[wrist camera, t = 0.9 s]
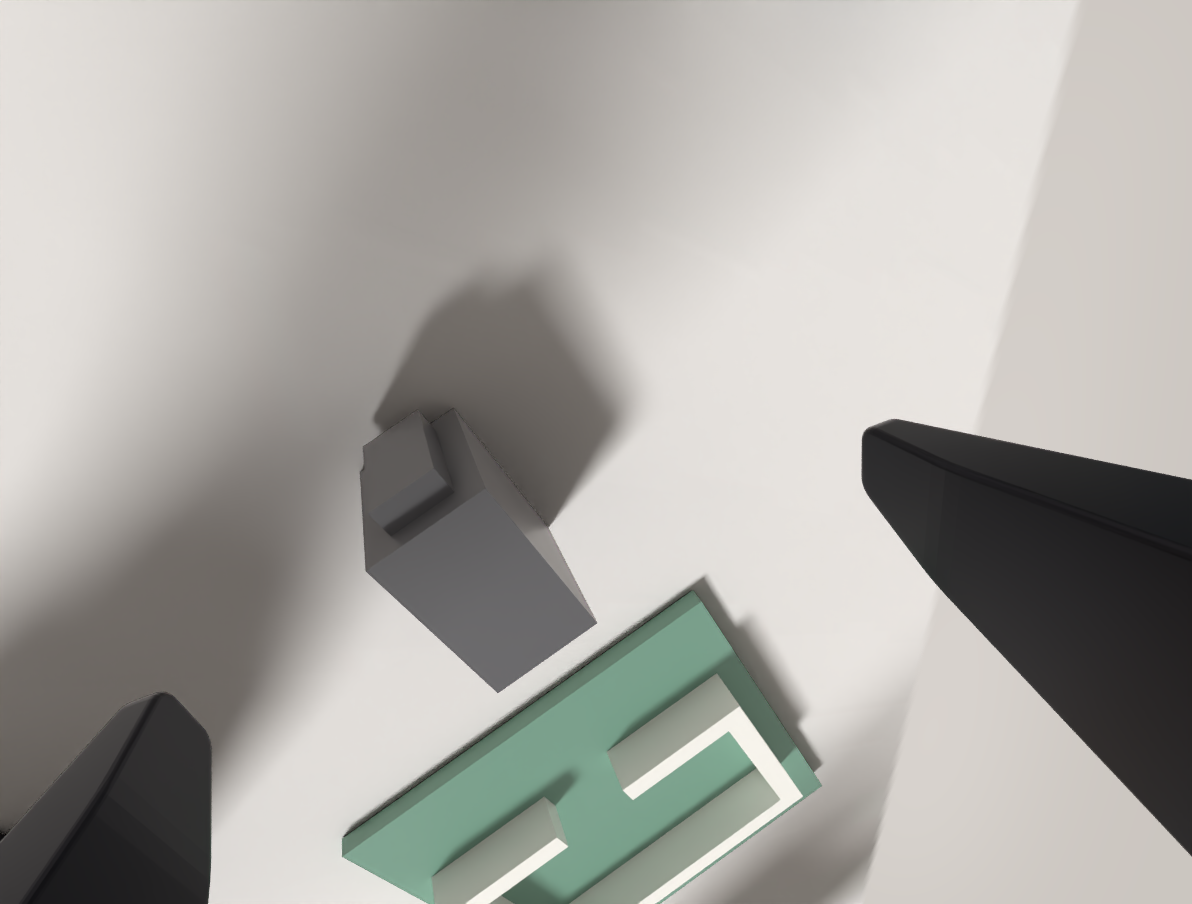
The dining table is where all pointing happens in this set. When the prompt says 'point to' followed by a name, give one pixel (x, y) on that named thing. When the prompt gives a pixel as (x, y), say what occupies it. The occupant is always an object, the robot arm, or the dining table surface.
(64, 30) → the dining table surface
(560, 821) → the board
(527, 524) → the plug
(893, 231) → the dining table surface
